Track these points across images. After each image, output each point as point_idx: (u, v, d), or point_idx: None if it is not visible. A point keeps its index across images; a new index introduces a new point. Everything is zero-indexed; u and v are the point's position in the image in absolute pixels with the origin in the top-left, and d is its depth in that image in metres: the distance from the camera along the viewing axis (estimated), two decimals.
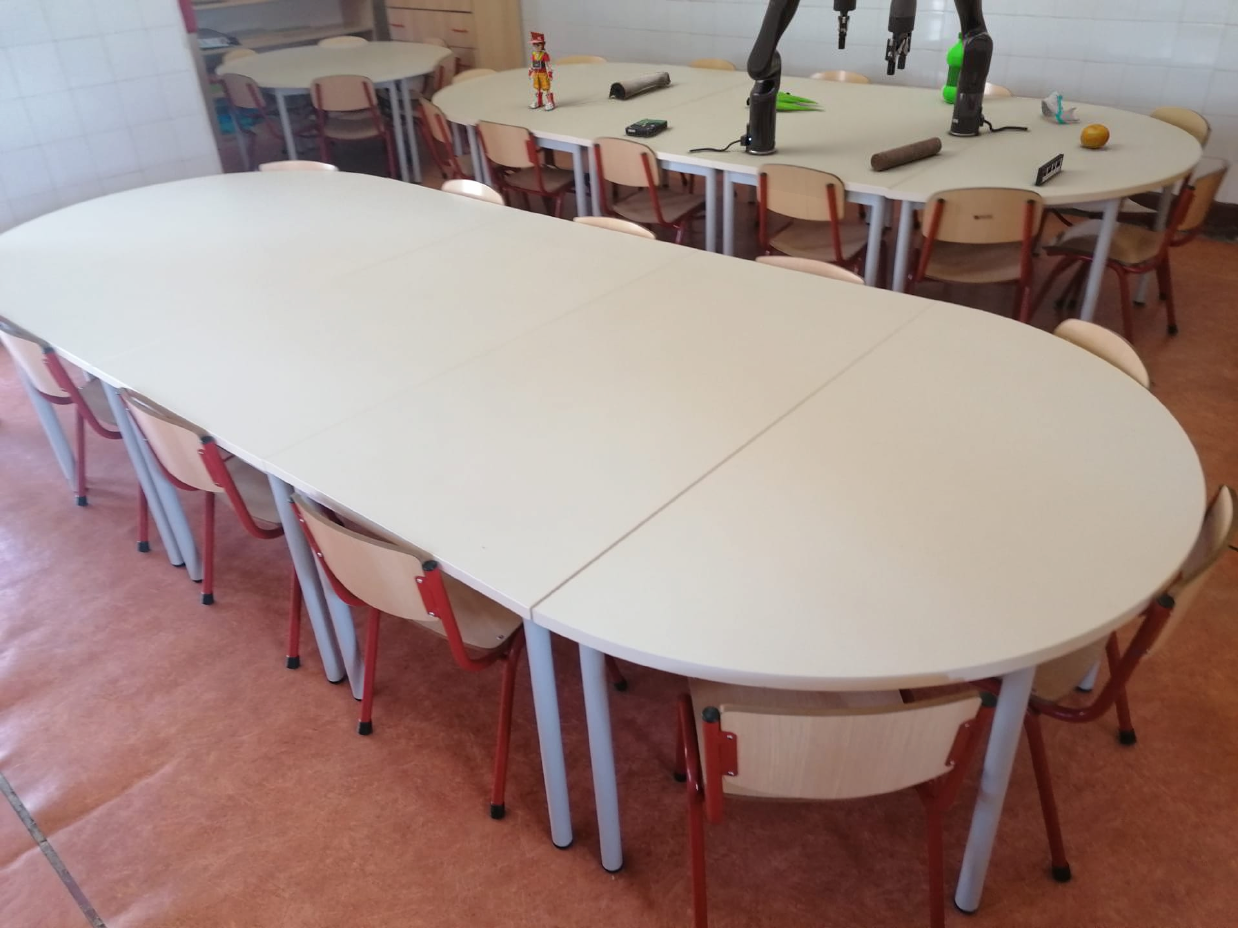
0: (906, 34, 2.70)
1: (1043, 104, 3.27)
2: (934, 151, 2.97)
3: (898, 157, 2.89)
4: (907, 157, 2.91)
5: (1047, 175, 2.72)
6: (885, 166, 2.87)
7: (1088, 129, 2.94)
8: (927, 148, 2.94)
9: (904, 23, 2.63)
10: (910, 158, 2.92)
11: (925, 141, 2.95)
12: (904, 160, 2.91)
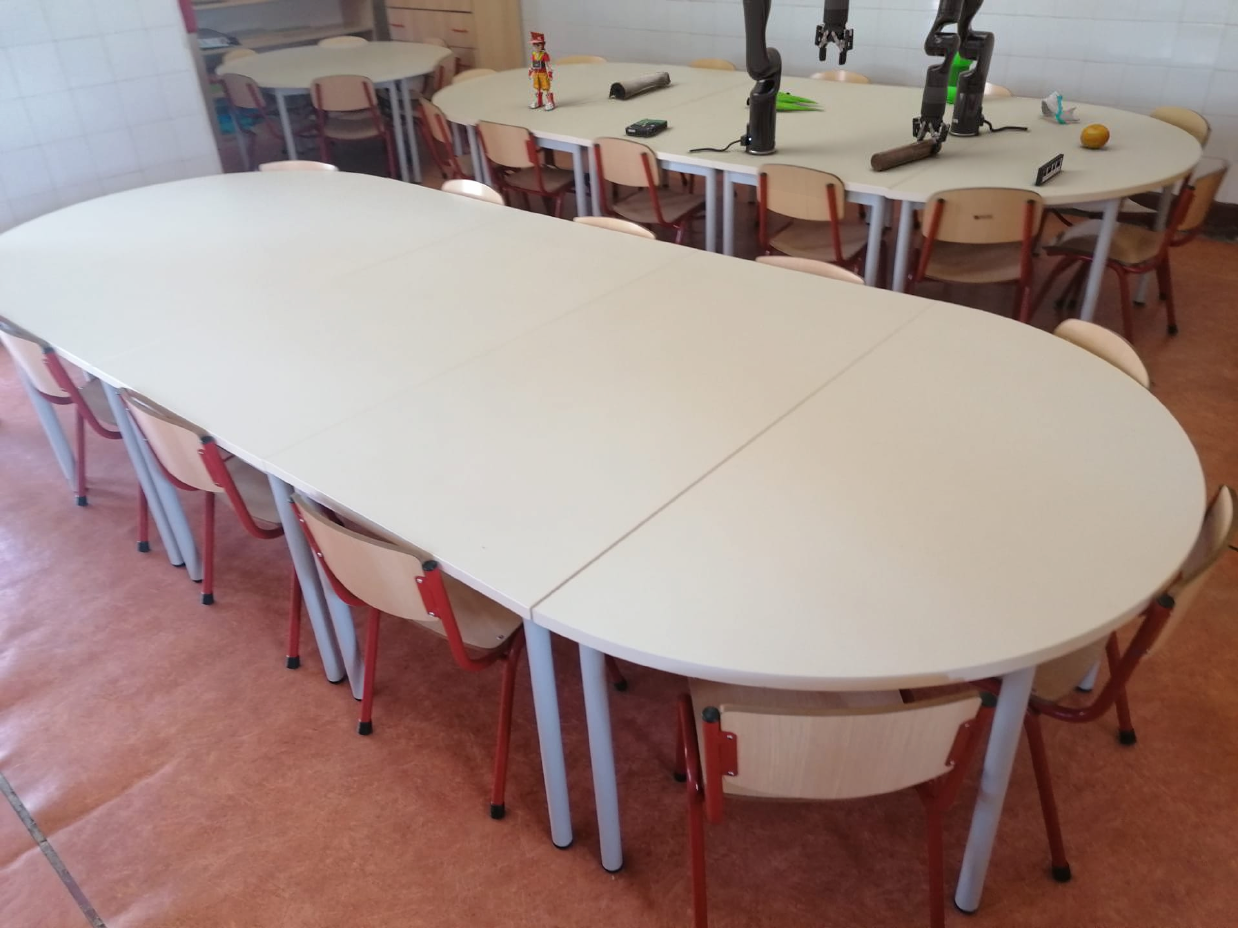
0: None
1: (1043, 104, 3.27)
2: None
3: (898, 157, 2.89)
4: (907, 157, 2.91)
5: (1047, 175, 2.72)
6: (885, 166, 2.87)
7: (1088, 129, 2.94)
8: (927, 148, 2.94)
9: None
10: (910, 158, 2.92)
11: (925, 141, 2.95)
12: (904, 160, 2.91)
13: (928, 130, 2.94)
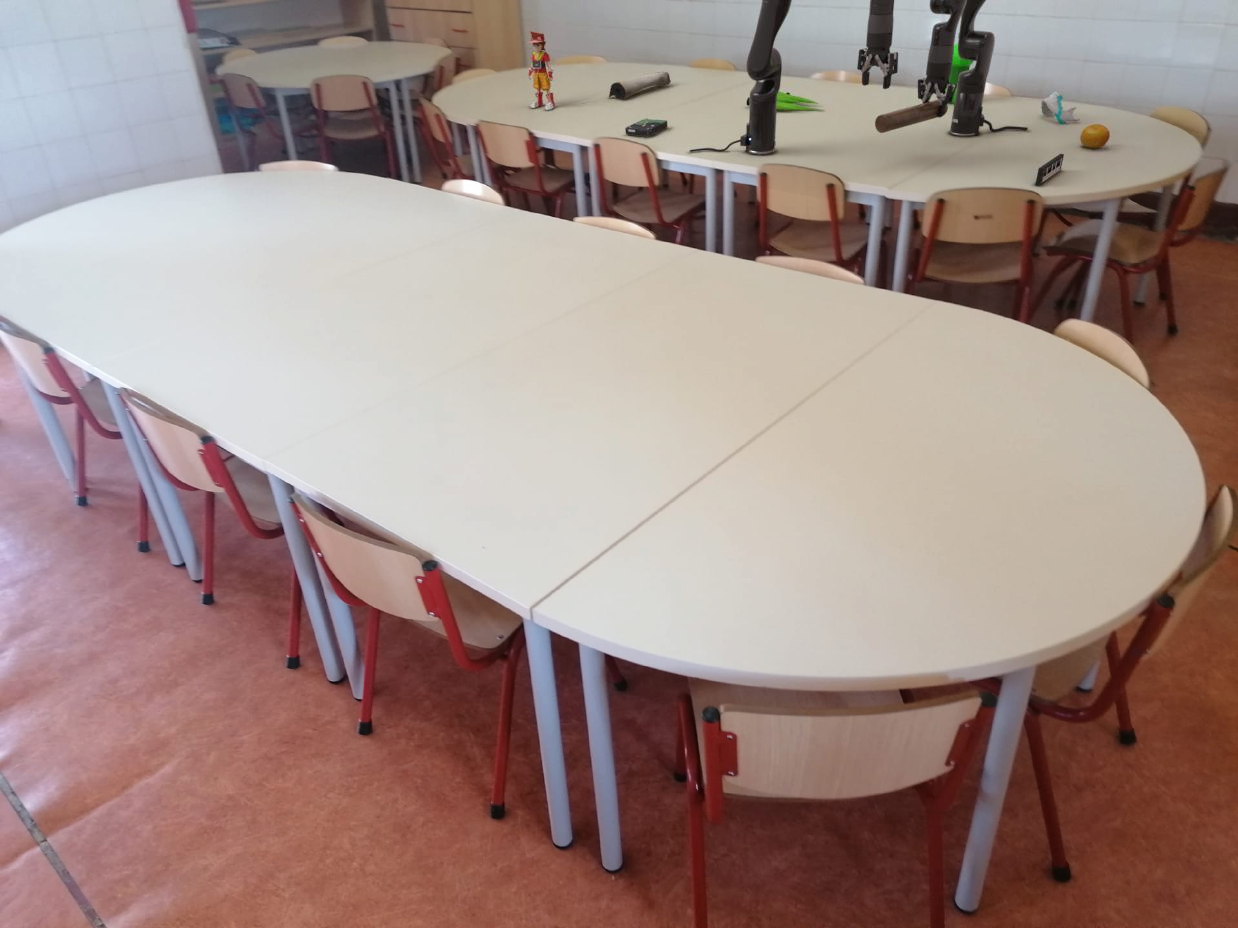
0: None
1: (1043, 104, 3.27)
2: None
3: (903, 118, 2.82)
4: (912, 119, 2.84)
5: (1047, 175, 2.72)
6: (890, 128, 2.81)
7: (1088, 129, 2.94)
8: (933, 109, 2.88)
9: None
10: (915, 120, 2.85)
11: (931, 103, 2.88)
12: (909, 122, 2.84)
13: (934, 91, 2.87)
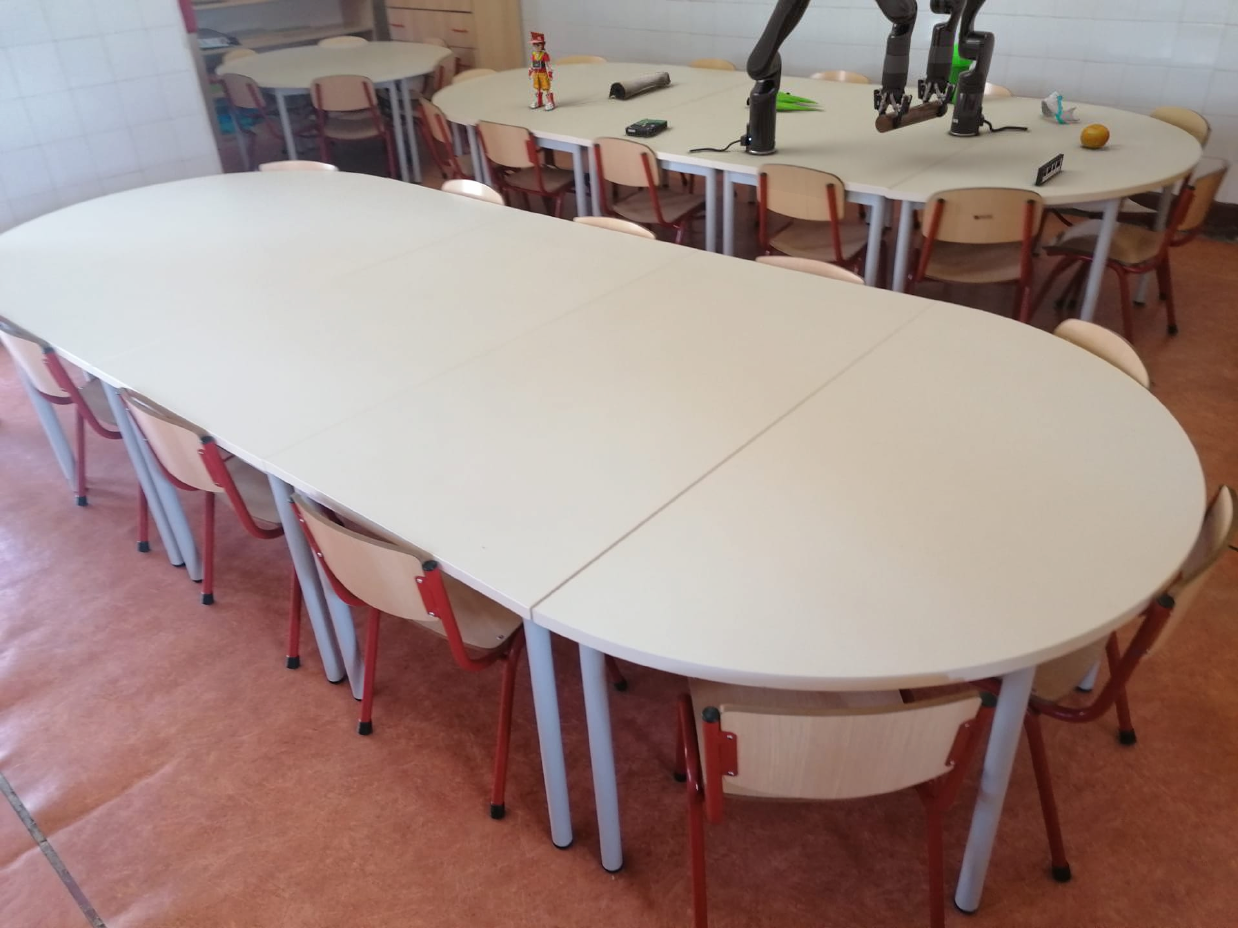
0: None
1: (1043, 104, 3.27)
2: None
3: (904, 118, 2.82)
4: (912, 119, 2.84)
5: (1047, 175, 2.72)
6: (890, 128, 2.81)
7: (1088, 129, 2.94)
8: (933, 109, 2.88)
9: None
10: (915, 120, 2.85)
11: (931, 103, 2.88)
12: (909, 122, 2.84)
13: (934, 91, 2.87)
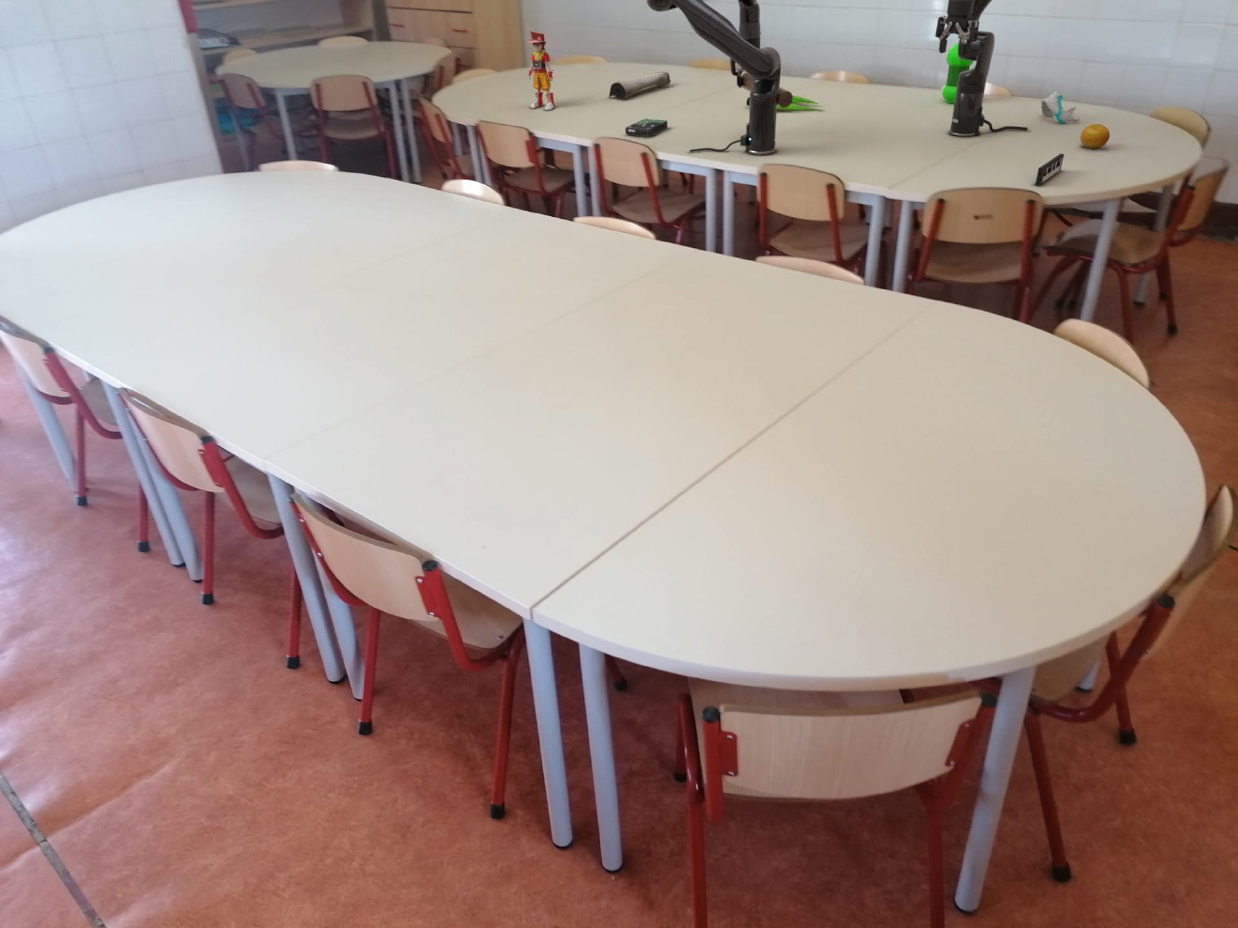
0: None
1: (1043, 104, 3.27)
2: None
3: (749, 84, 3.18)
4: None
5: (1047, 175, 2.72)
6: (742, 86, 3.23)
7: (1088, 129, 2.94)
8: None
9: None
10: None
11: None
12: None
13: (955, 31, 2.80)
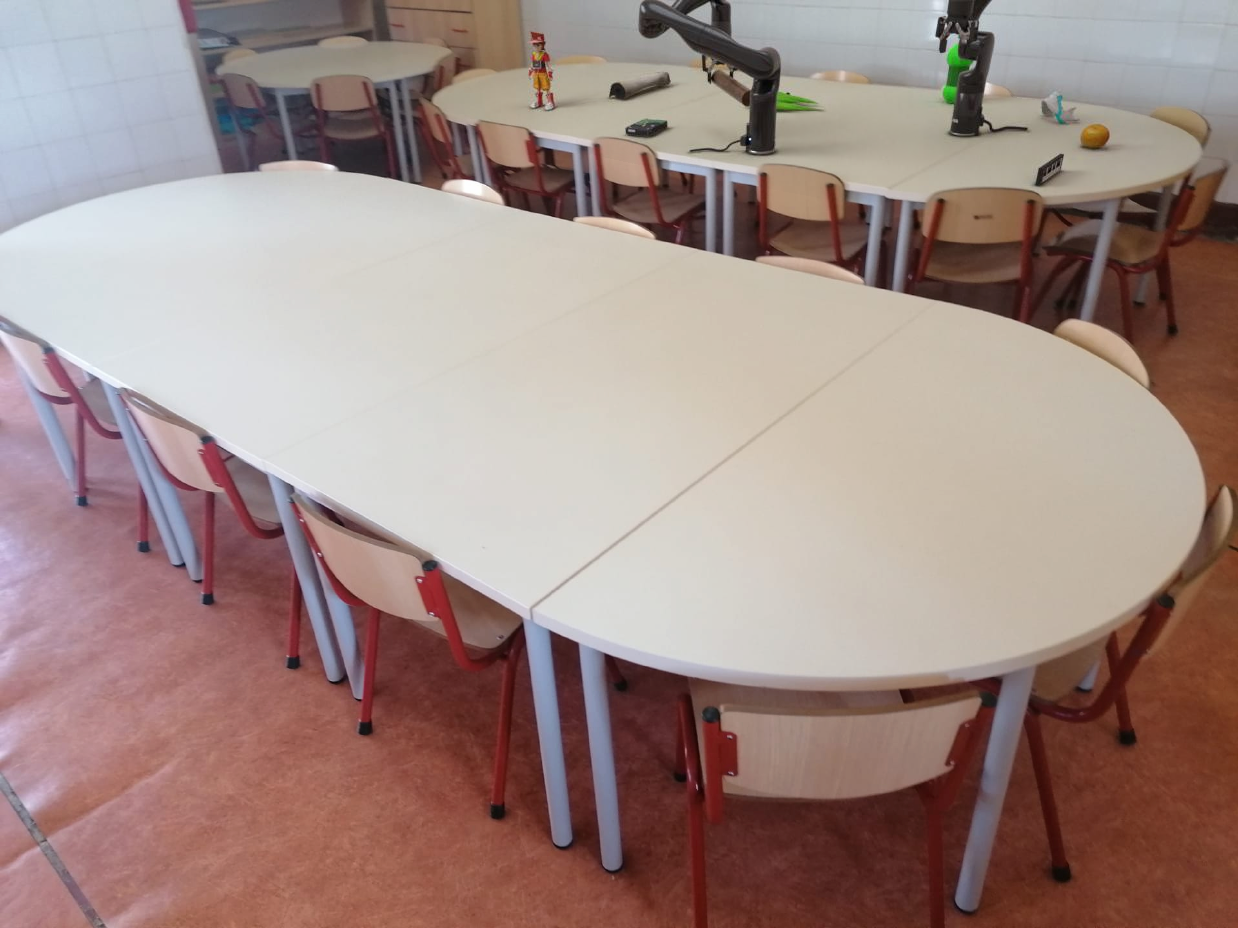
0: None
1: (1043, 104, 3.27)
2: (738, 100, 3.15)
3: (718, 82, 3.27)
4: (723, 88, 3.25)
5: (1047, 175, 2.72)
6: (713, 83, 3.32)
7: (1088, 129, 2.94)
8: (734, 92, 3.17)
9: None
10: (725, 91, 3.24)
11: (739, 86, 3.15)
12: (722, 89, 3.26)
13: (955, 31, 2.80)
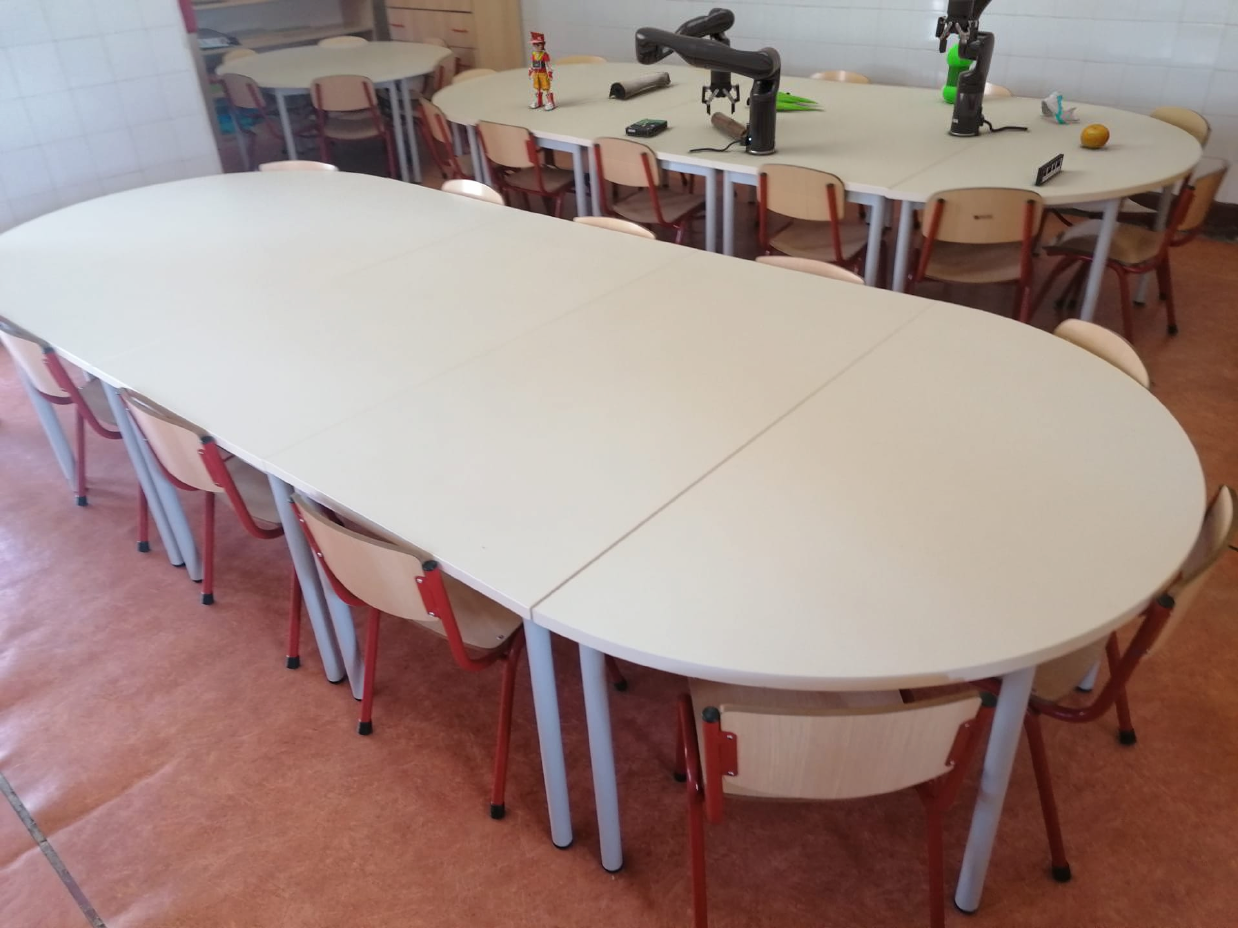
0: (727, 86, 3.32)
1: (1043, 104, 3.27)
2: (737, 138, 3.23)
3: (718, 123, 3.36)
4: (722, 128, 3.33)
5: (1047, 175, 2.72)
6: (713, 124, 3.41)
7: (1088, 129, 2.94)
8: (733, 130, 3.25)
9: (712, 75, 3.29)
10: (724, 131, 3.32)
11: (738, 125, 3.23)
12: (722, 129, 3.34)
13: (955, 31, 2.80)
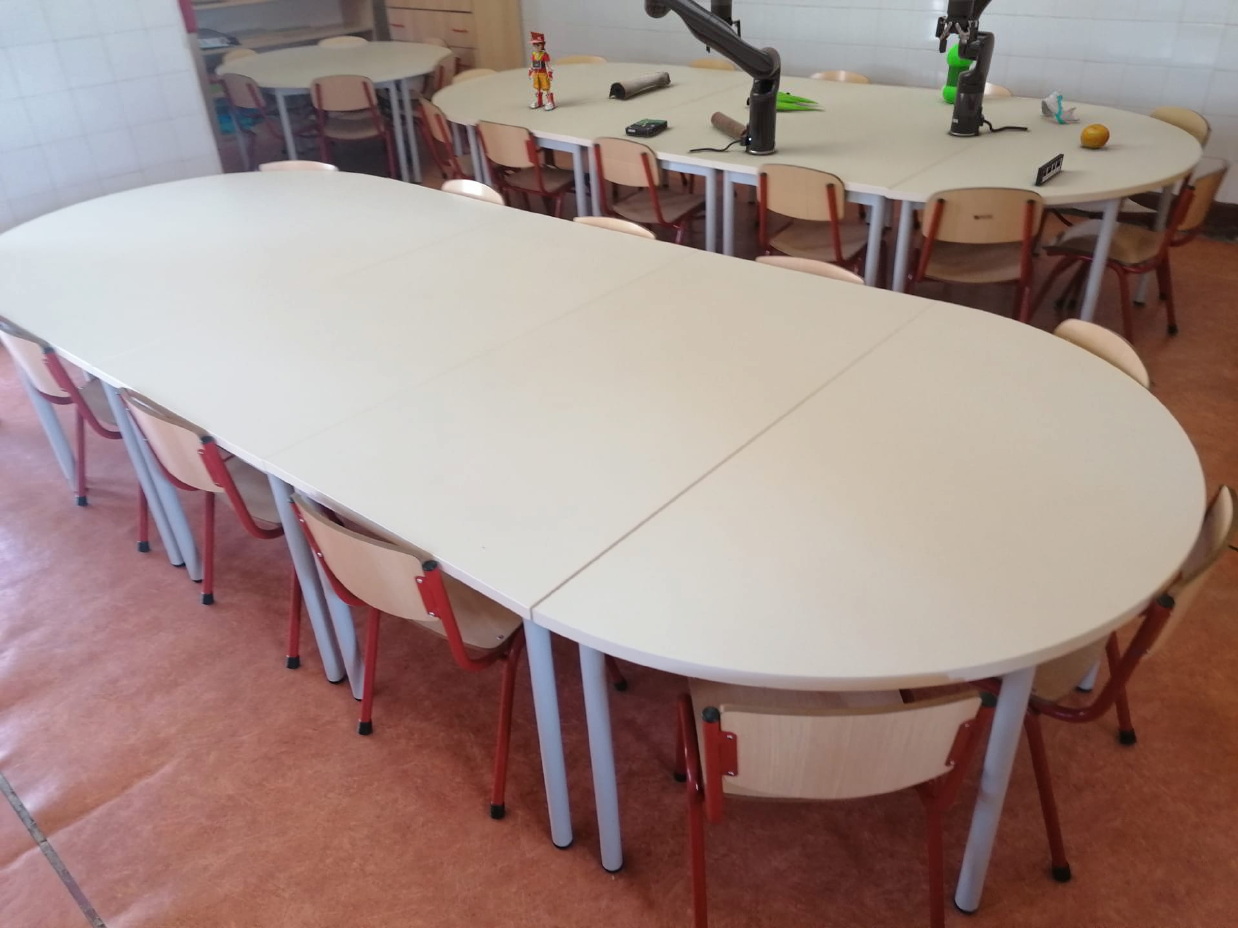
0: (728, 21, 3.19)
1: (1043, 104, 3.27)
2: (737, 138, 3.23)
3: (718, 123, 3.36)
4: (722, 128, 3.33)
5: (1047, 175, 2.72)
6: (713, 124, 3.41)
7: (1088, 129, 2.94)
8: (733, 130, 3.25)
9: (712, 10, 3.17)
10: (724, 131, 3.32)
11: (738, 125, 3.23)
12: (722, 129, 3.34)
13: (955, 31, 2.80)
